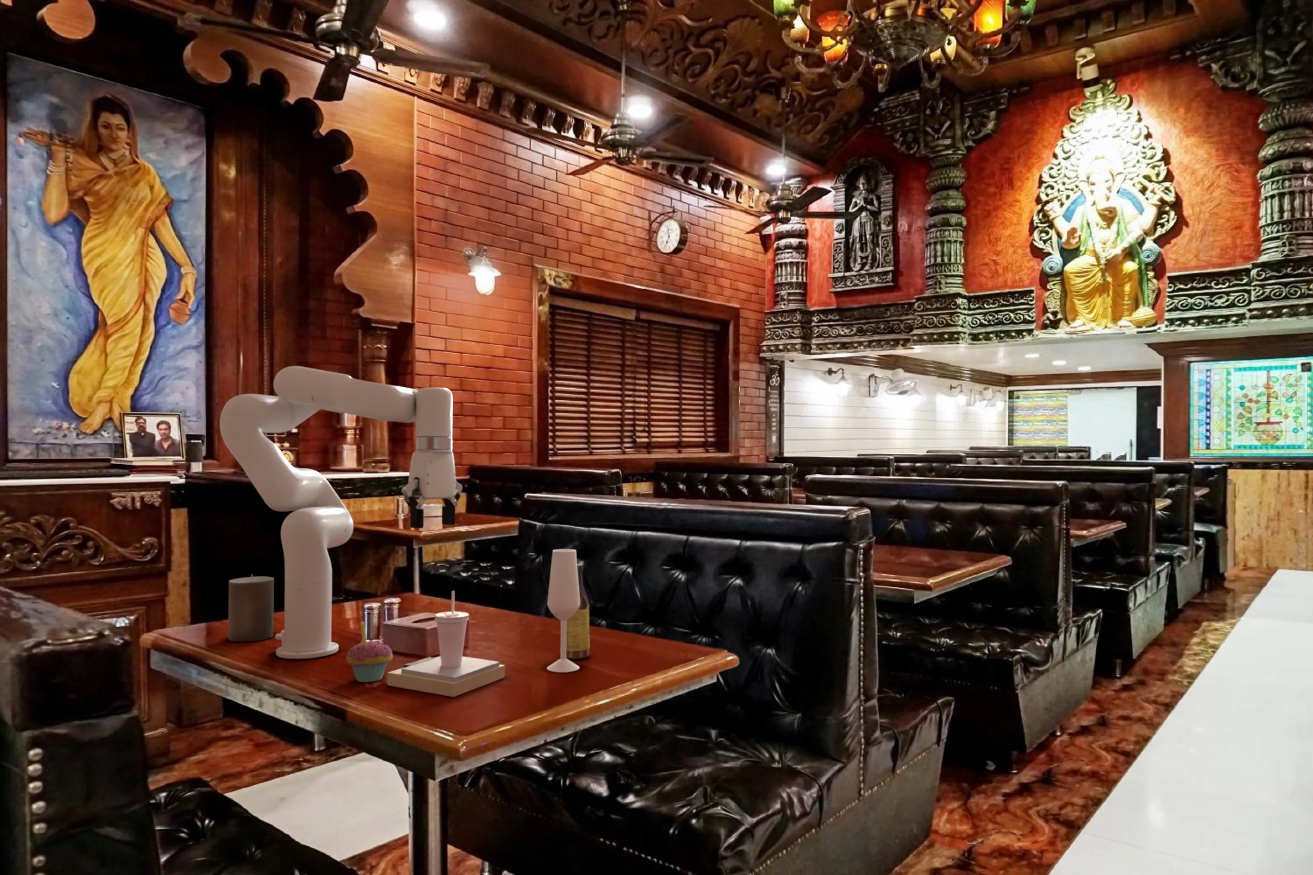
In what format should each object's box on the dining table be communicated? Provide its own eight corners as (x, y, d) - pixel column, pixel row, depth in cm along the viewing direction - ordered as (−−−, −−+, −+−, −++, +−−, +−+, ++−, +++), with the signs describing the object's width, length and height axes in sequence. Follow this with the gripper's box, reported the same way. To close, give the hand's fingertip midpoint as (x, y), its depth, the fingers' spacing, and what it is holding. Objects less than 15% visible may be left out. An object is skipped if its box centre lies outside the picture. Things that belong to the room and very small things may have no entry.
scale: (387, 685, 156) (387, 668, 156) (441, 667, 170) (442, 651, 170) (453, 696, 149) (453, 679, 149) (504, 677, 162) (505, 660, 162)
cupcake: (365, 687, 155) (366, 622, 155) (336, 680, 159) (337, 617, 160) (401, 677, 162) (402, 615, 162) (372, 670, 167) (373, 610, 167)
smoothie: (472, 661, 162) (473, 589, 162) (461, 669, 156) (462, 594, 156) (441, 660, 163) (441, 588, 163) (428, 668, 156) (429, 594, 156)
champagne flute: (549, 663, 173) (550, 548, 174) (581, 663, 173) (582, 548, 174) (544, 671, 167) (545, 552, 167) (577, 672, 166) (578, 552, 167)
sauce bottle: (595, 656, 179) (596, 564, 180) (573, 661, 175) (574, 567, 175) (575, 651, 184) (576, 561, 184) (553, 656, 179) (554, 564, 180)
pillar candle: (280, 637, 196) (281, 573, 196) (237, 644, 189) (238, 578, 189) (262, 631, 203) (263, 569, 203) (220, 637, 195) (221, 573, 196)
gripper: (447, 446, 186) (447, 522, 186) (390, 445, 171) (389, 528, 170) (474, 446, 182) (473, 524, 182) (418, 445, 167) (417, 530, 167)
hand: (432, 526), depth 176 cm, fingers open, 9 cm apart
